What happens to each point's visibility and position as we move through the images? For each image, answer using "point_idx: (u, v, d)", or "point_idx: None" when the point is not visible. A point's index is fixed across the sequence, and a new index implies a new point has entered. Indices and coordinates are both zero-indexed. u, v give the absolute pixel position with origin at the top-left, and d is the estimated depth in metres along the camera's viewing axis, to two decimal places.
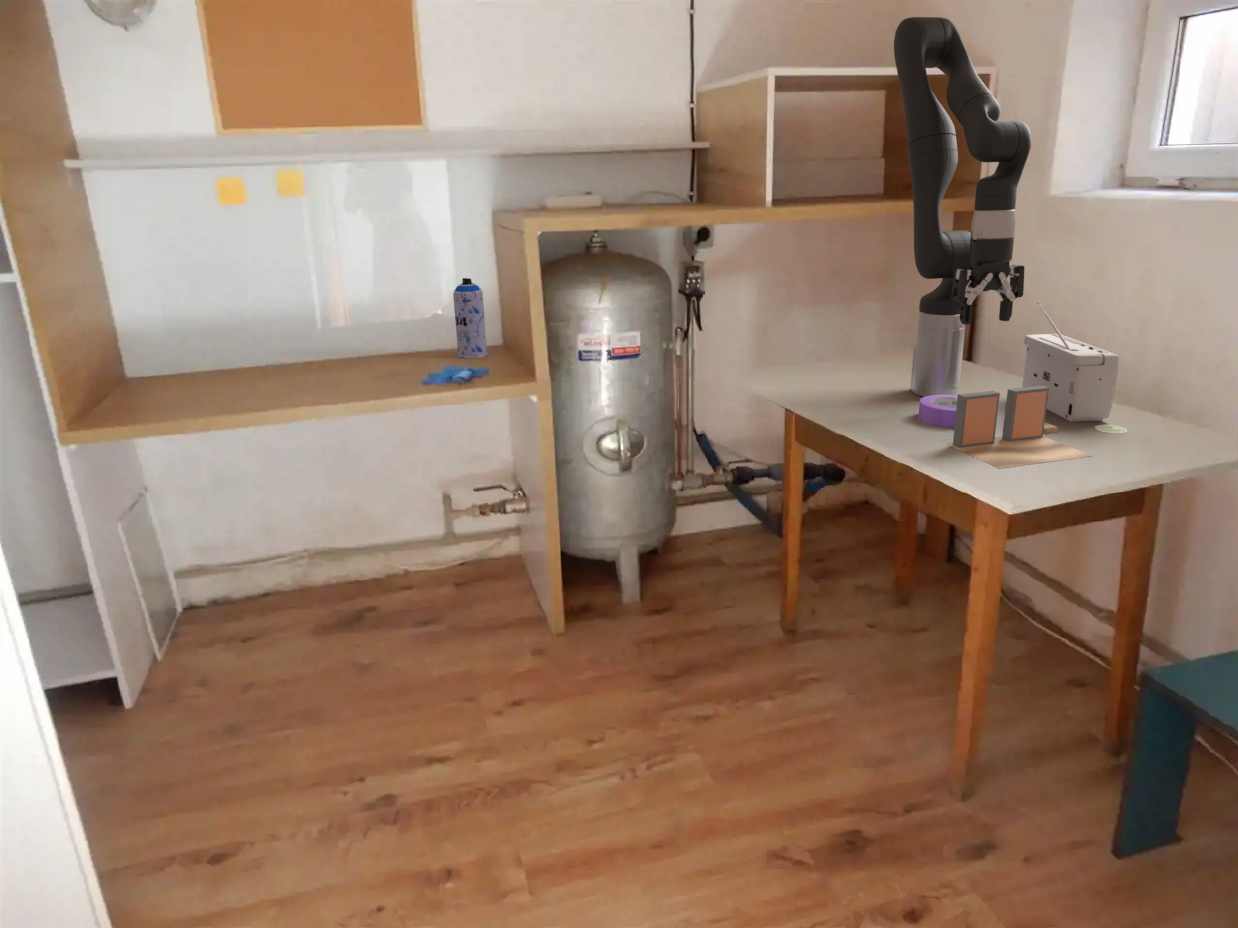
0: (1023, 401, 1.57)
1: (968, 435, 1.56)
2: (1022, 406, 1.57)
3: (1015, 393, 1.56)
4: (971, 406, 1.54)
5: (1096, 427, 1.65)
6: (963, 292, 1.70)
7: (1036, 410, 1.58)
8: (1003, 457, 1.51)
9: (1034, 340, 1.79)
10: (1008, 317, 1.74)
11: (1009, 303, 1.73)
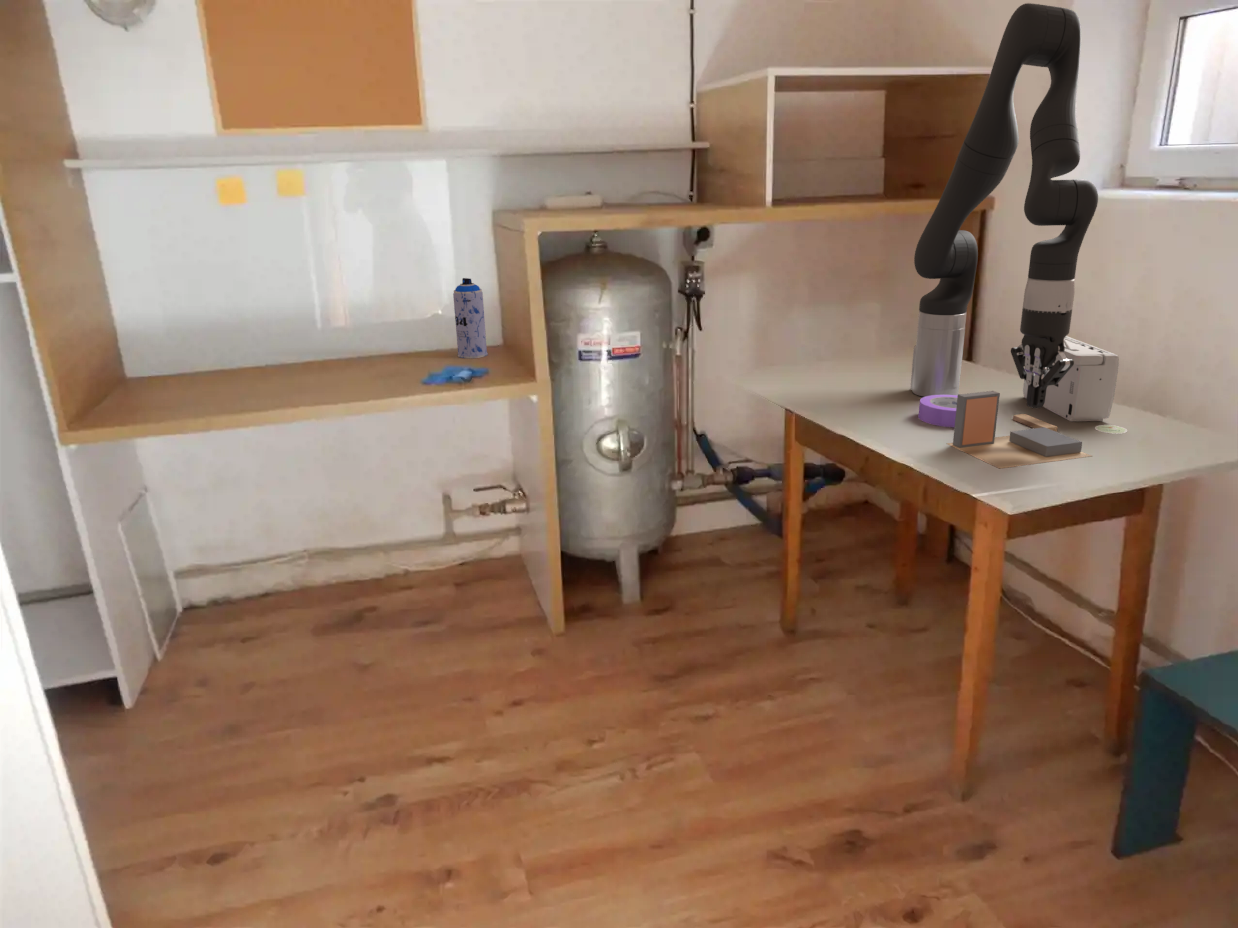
0: None
1: (968, 435, 1.56)
2: None
3: (1045, 456, 1.51)
4: (971, 406, 1.54)
5: (1096, 427, 1.65)
6: None
7: None
8: (1003, 457, 1.51)
9: None
10: None
11: None
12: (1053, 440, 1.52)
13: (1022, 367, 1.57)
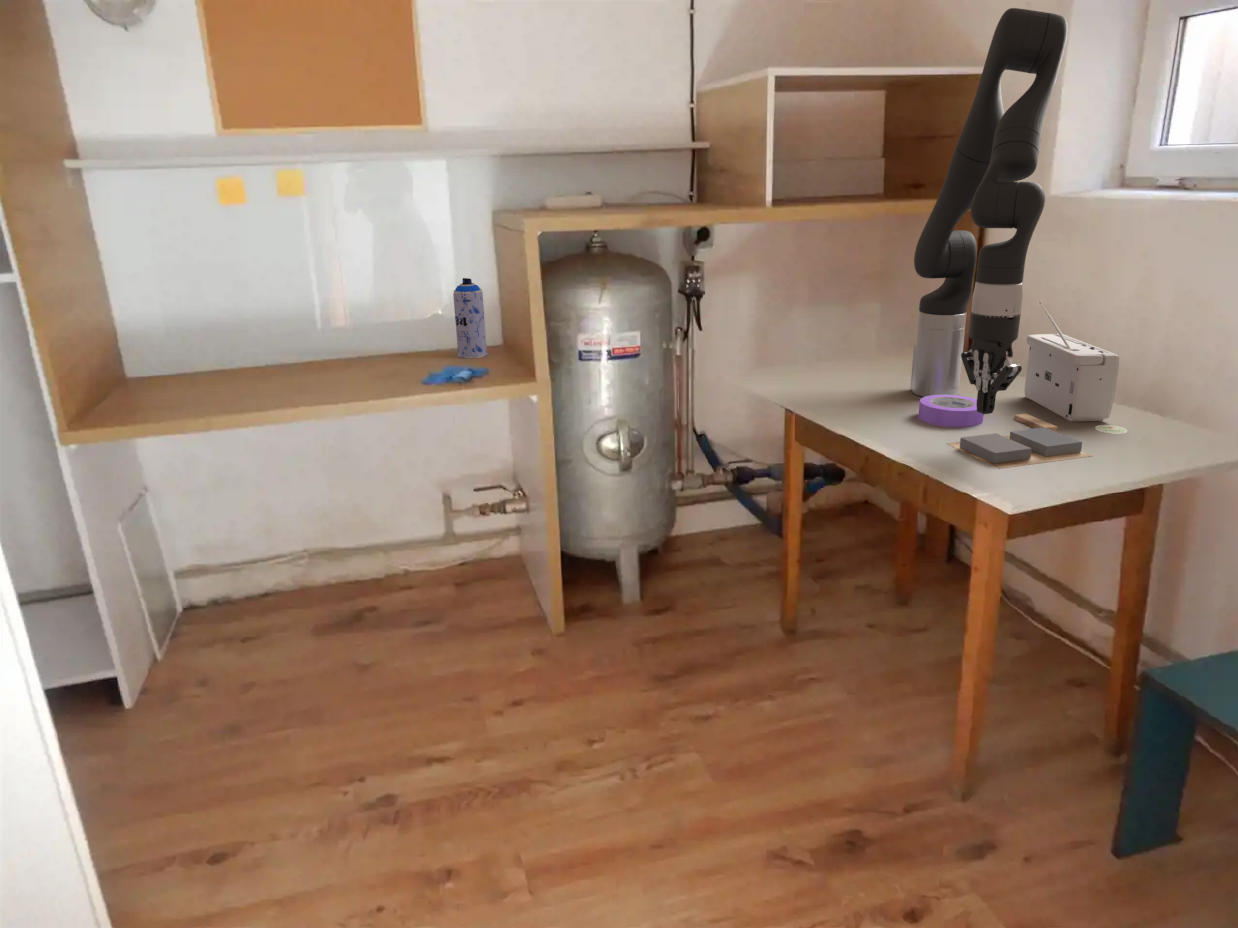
0: None
1: None
2: None
3: (1045, 456, 1.51)
4: None
5: (1096, 427, 1.65)
6: None
7: None
8: None
9: (1036, 340, 1.79)
10: None
11: None
12: (1053, 440, 1.52)
13: (972, 372, 1.54)
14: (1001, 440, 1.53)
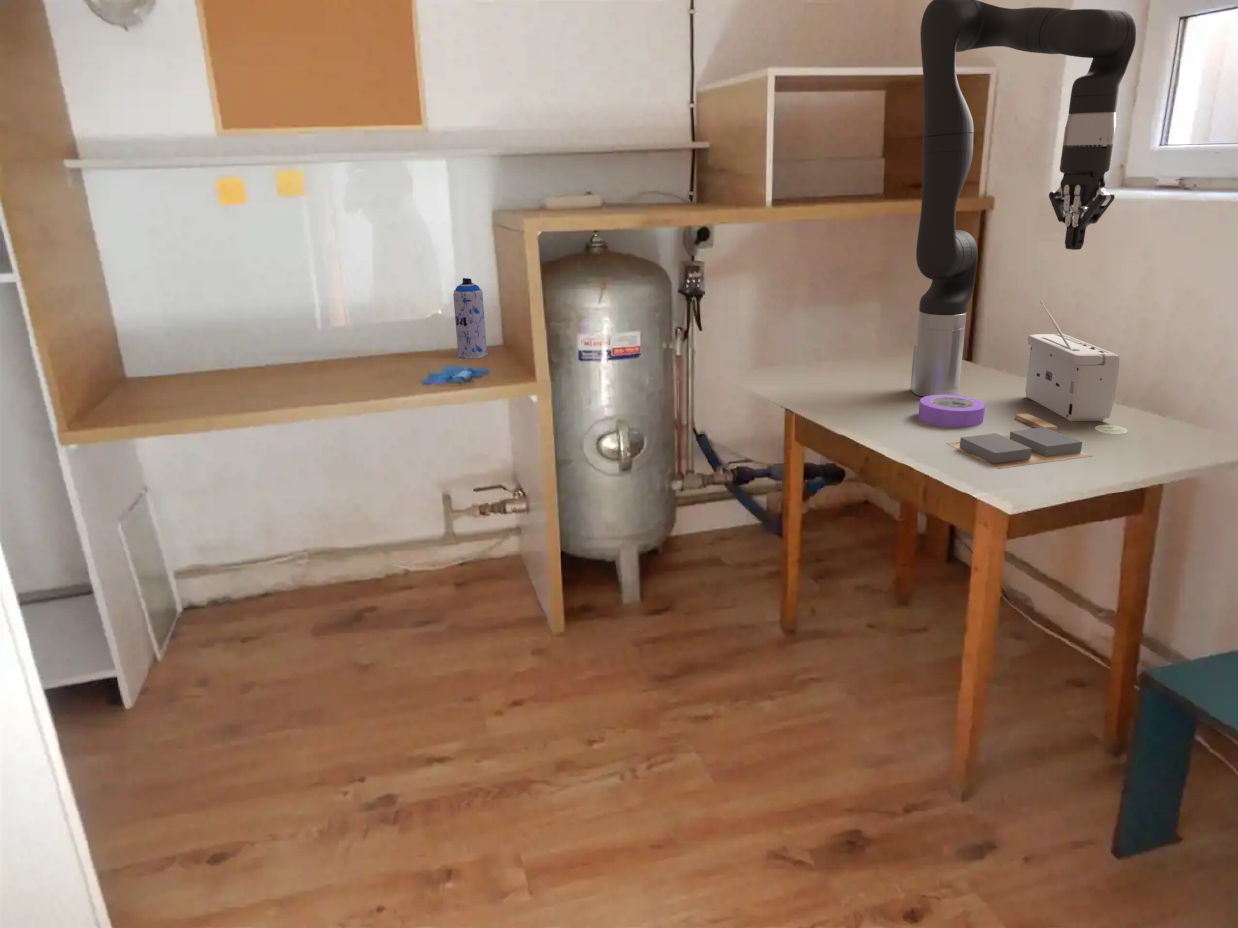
0: None
1: None
2: None
3: (1045, 456, 1.51)
4: None
5: (1096, 428, 1.65)
6: None
7: None
8: None
9: (1037, 340, 1.79)
10: None
11: None
12: (1053, 440, 1.52)
13: (1061, 210, 1.57)
14: (1001, 440, 1.53)
